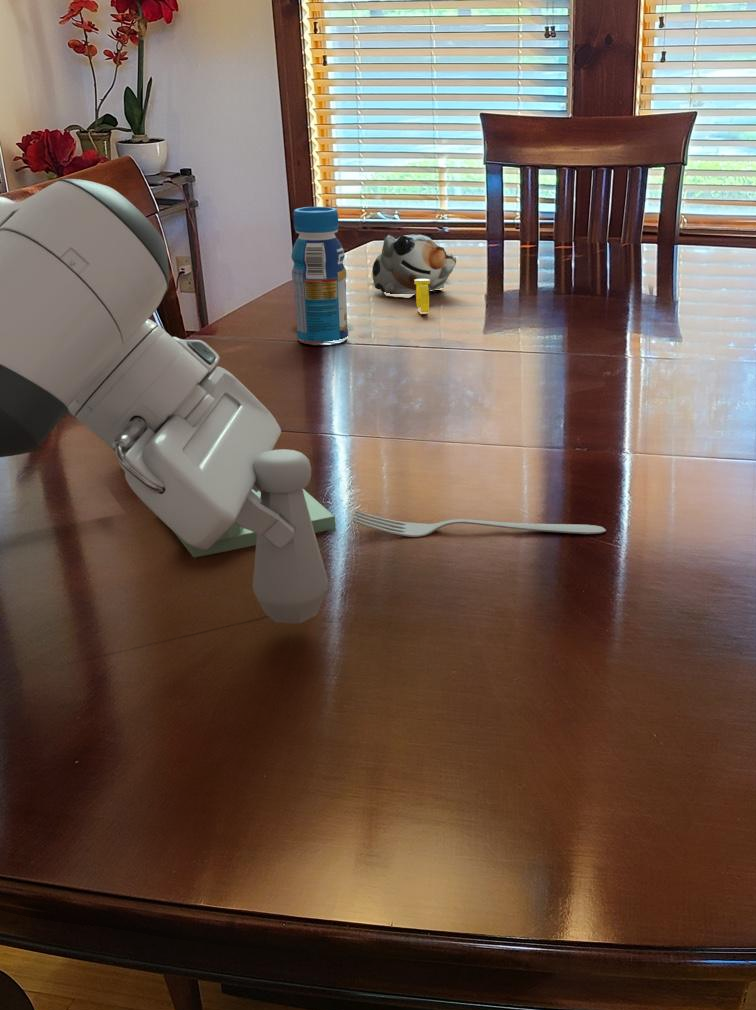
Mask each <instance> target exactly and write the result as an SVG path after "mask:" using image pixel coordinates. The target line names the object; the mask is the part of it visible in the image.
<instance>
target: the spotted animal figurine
mask: <svg viewBox="0 0 756 1010" xmlns="http://www.w3.org/2000/svg"><path fill="white" fill-rule="evenodd" d="M456 265H457V256H453V254H452V253H450V254H447V252H446V250H445V247H442V246H440V245H438V244H437V243H436V242H435V241H433V239H432V238H431V237H429V236H427V235H423V234H413V233H411V234H406V235H401V236H399V237H398V238H395V237H394V236H392V235H391V234H388V235H387V236H386V237H385V238H384V239H383V245H382V249H381V253H380V254H379V255H378V256H377V257H376V258H375V260H374V261H373V265H372V269H371V274H372V276H371V277H372V281H373V285H374V289H376V290H378V291H379V290H380V291H381V292H382V293H383V292H386V293H390V294H416V284H414V280H415V279H430V284H428V290H429V291H430V290H435V289H440V288H444V289H445V283H446V281H447V280H448V279H449V277H450V275H451V274H452V273H453V270H454V268H455V266H456Z"/></svg>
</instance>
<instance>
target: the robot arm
mask: <svg viewBox="0 0 756 1010" xmlns="http://www.w3.org/2000/svg"><path fill="white" fill-rule="evenodd" d="M169 287H170V267H169V260H168V254H167V248H166V244H165V241H164V238H163V237H162V235H161V233H160V232H159V231H158V230H157V228H156V227H155V226H154V225H153V224H152V223H151V221H150V220H149V219H148V218H147V217H146V216H145V214H143V213H142V211H140V210H139V209H138V208H137V207H136V206H135V205H134V204H133V203H132V202H130V201H129V199H127V198H126V197H125V196H124V195H122V194H121V193H120V192H119V191H117V190H116V189H114V188H112V187H111V186H108V185H105V184H102V183H98V182H96V181H95V182H94V181H91V180H87V179H78V178H61V179H60V178H59V179H56V180H55V181H54V182H53V183H51V184H49V185H47V186H46V187H45V188H43V189H41V190H39V191H37V192H36V193H34V194H32V195H31V196H29V197H26V198H25V199H23V200H21V201H17V202H15V201H14V200H12V199H10V198H7V197H4V196H0V458H5V457H13V456H19V455H24V454H29V453H32V452H36V451H38V450H39V448H40V447H41V446H42V445H43V444H44V442H45V441H46V439H47V438H48V437H49V436H50V434H52V431H54V429H55V428H56V427H57V425H58V424H59V422H60V421H61V420H62V419H63V417H64V416H65V415H66V414H67V412H69V413H70V414H71V415H72V417H75V419H77V421H78V422H80V423H81V424H82V425H84V426H85V427H86V428H87V429H88V430H89V431H91V432H92V433H93V434H94V435H95V436H96V437H98V438H99V439H100V440H101V441H102V442H103V443H105V444H106V445H107V446H108V447H109V448H110V449H112V450H113V451H114V452H115V454H116V457H117V459H118V465H119V466H120V468H121V469H122V470H123V471H124V476H125V477H124V478H125V480H126V482H127V485H128V486H129V487H130V489H131V490H132V492H133V493H134V494H135V495H136V497H138V498H139V499H140V500H141V502H142V503H144V505H145V506H146V507H147V508H148V509H150V511H152V513H153V514H154V515H155V516H156V517H158V519H160V520H161V521H162V523H164V524H165V525H166V526H167V527H168V528H169V529H170V530H171V531H173V533H174V532H175V533H176V534H177V535H178V536H179V537H180V538H181V539H182V540H183V541H185V542H186V543H187V544H189V545H191V546H193V547H196V548H199V549H202V550H206V549H208V548H210V547H211V546H212V545H213V544H214V543H215V542H216V541H217V540H218V539H219V538H220V537H221V536H222V535H223V534H224V533H225V532H226V531H227V530H228V529H229V528H230V527H231V526H232V525H233V523H234V522H235V523H237V524H238V525H239V526H240V527H242V528H245V529H247V530H250V531H252V532H255V533H257V534H260V535H263V536H264V537H265V538H267V539H268V540H269V541H270V542H271V543H272V544H274V545H275V546H276V547H278V548H283V547H285V546H286V545H287V544H288V543H289V542H290V541H291V540H292V539H293V537H294V535H295V532H296V526H295V525H293V524H292V523H291V522H290V521H289V520H288V519H286V518H285V517H284V516H283V515H282V514H281V513H280V515H278V514H277V513H275V512H273V511H272V510H270V509H269V508H267V507H265V506H264V505H262V504H261V501H262V500H261V499H260V498H259V497H258V496H257V495H256V494H254V493H253V492H252V491H251V490H252V489H253V490H254V491H255V492H258V491H260V493H261V490H260V489H258V488H257V487H256V486H255V482H256V480H257V476H256V474H255V471H254V467H253V464H252V463H253V462H254V460H255V459H256V457H257V456H258V455H260V454H262V453H264V452H267V451H272V450H274V448H275V446H276V443H277V442H278V439H279V438H280V436H281V434H282V429H281V427H280V425H279V423H278V422H277V420H276V418H275V417H274V415H273V414H272V412H271V411H270V410H269V409H268V408H267V407H266V406H265V405H264V404H263V403H262V402H261V401H260V400H259V399H258V398H257V397H256V395H254V394H253V393H252V392H251V391H250V390H249V389H248V388H247V387H246V385H244V384H243V383H242V382H241V381H240V379H238V378H237V377H235V375H234V374H232V373H231V372H230V371H228V370H227V369H226V368H223V367H221V366H217V365H218V364H219V361H220V356H219V354H218V353H217V352H216V350H214V349H213V347H211V346H210V345H209V344H208V343H207V342H206V341H204V340H202V339H182V338H179V337H177V336H172V335H170V334H169V333H168V332H167V331H166V330H165V329H164V328H163V327H162V326H160V325H159V324H158V323H157V322H155V321H153V320H152V319H150V317H152V316H153V314H154V313H155V312H156V310H157V309H158V307H159V306H160V304H161V303H162V300H163V299H164V296H165V294H166V293H167V292H168V290H169V289H170V288H169ZM175 533H174V534H175ZM176 534H175V535H176Z"/></svg>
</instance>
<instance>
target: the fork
mask: <svg viewBox="0 0 756 1010" xmlns="http://www.w3.org/2000/svg"><path fill="white" fill-rule="evenodd" d="M351 521H352V523H355V524H358V525H360V526H362V527H363V526H364V527H366V528H369V529H373V530H377V531H380V532H383V533H388V534H391V535H397V536H403V537H409V538H420V537H425V536H428V535H431V534H432V533H434V532H435V531H438V530H440V529H442V528H444V527H447V526H451V525H454V524H455V525H456V524H457V525H458V524H466V525H475V526H485V527H494V528H503V529H510V530H511V529H512V530H523V531H531V532H532V531H533V532H534V531H535V532H547V533H561V534H578V535H599V534H604V533H606V532H607V529H606V528H604V527H603V526H600V525H595V524H593V525H591V524H575V523H574V524H572V523H571V524H570V523H568V524H567V523H531V522H530V523H529V522H528V523H527V522H505V521H490V520H480V519H479V520H478V519H465V518H464V519H463V518H461V519H460V518H457V519H449V520H443V521H439V522H435V523H420V522H408V521H401V520H394V519H389V518H385V517H382V516H377V515H373V514H370V513H365V512H363V511H359V510H355V511H354V514H353V516H352V520H351Z"/></svg>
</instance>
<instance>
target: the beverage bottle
mask: <svg viewBox="0 0 756 1010" xmlns="http://www.w3.org/2000/svg"><path fill="white" fill-rule="evenodd" d="M293 227H294V228H293V229H294V230H295V234H298V237H297V238H296V240H295V243H294V244H293V247H292V251H291V256H290V257H291V260H292V262H293V267H292V269H291V278H292V282H293V294H294V295H293V296H294V307H295V320H296V338H297V337H298V338H299V339H301V340H305V341H333V340H339V339H343V338H345V337H347V336H348V337H349V328H348V308H347V307H348V306H347V303H348V302H347V281H346V280H347V269H346V267H345V265H344V260H345V256H346V255H345V249H344V248H343V246H342V244H341V242H340V240H339V238H338V237H337V236H336V233H338V231H339V213H338V209H337V208H335V207H329V206H305V207H298V208H295V209H294V210H293Z"/></svg>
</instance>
